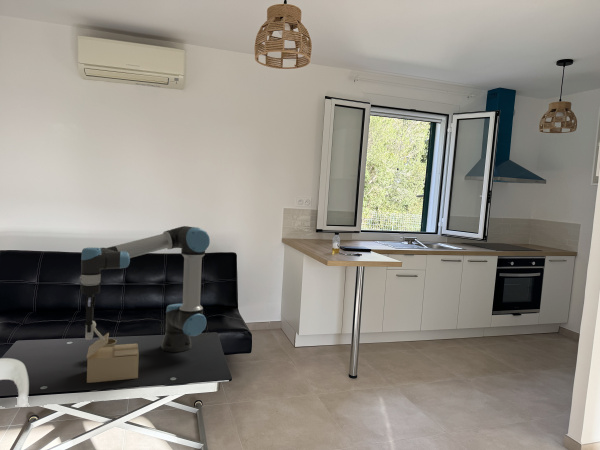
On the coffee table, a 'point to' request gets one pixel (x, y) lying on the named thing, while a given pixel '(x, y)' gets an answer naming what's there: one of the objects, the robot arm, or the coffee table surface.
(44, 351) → the coffee table surface
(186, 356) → the coffee table surface
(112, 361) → the carton
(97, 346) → the flap
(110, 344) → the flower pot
